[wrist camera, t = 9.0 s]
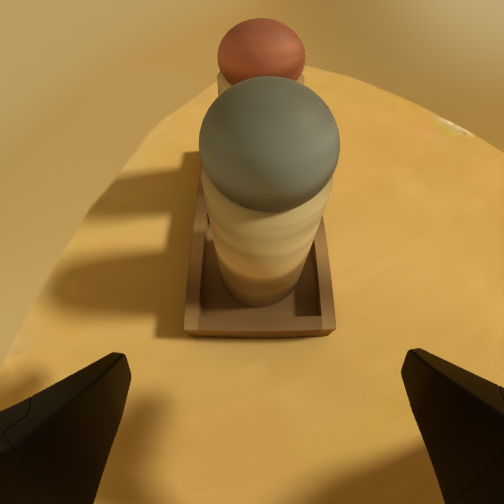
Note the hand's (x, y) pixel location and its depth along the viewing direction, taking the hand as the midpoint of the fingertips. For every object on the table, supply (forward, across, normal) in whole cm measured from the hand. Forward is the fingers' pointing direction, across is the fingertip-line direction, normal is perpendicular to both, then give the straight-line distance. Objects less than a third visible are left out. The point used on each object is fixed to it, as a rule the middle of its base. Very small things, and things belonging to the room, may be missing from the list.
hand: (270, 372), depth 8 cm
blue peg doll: (+11, 0, +1) cm, 11 cm away
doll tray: (+14, 0, -2) cm, 14 cm away
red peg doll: (+16, 0, -5) cm, 17 cm away
